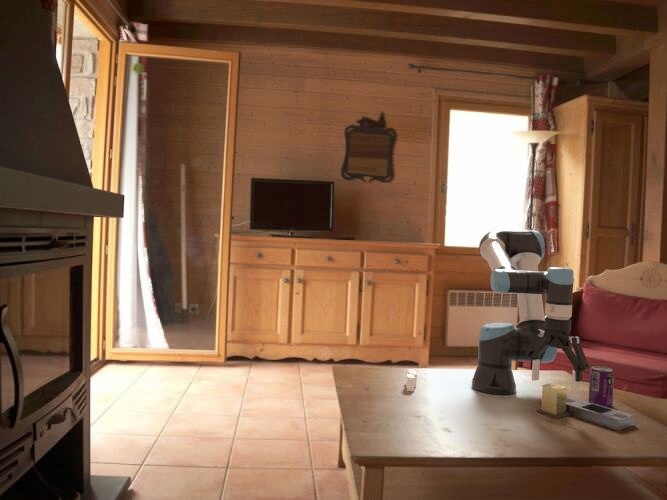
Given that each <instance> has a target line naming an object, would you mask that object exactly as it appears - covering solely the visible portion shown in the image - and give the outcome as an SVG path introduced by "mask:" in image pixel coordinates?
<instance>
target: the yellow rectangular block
mask: <svg viewBox="0 0 667 500" xmlns="http://www.w3.org/2000/svg"><path fill="white" fill-rule="evenodd" d="M567 391H568V387H567V386H564V385H560V384H557V383H553V382H551V383H546V384H542V391H541V408H540V409H541V411H544V412H547V413H550V414H553V415H560V414H563V413H566V396H568V395H567V394H568V393H567Z"/></svg>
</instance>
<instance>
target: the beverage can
mask: <svg viewBox="0 0 667 500" xmlns="http://www.w3.org/2000/svg"><path fill="white" fill-rule="evenodd" d="M613 371H614V370H613V369H612V368H609V367H605V366H591V370H590V372H589V381H588V382H589V385H588V402H591V403H594V404H598V405H601V406H605V407H608V408H609V407H611V406H613V403H614V402H613V401H614V399H613V398H614V381H615V375H614V373H613Z"/></svg>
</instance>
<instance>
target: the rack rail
mask: <svg viewBox="0 0 667 500" xmlns="http://www.w3.org/2000/svg"><path fill="white" fill-rule="evenodd" d="M566 412H568V413H571V415H570V416H571V417H574V416H575V418H577V417H578V418H577V419H581V420H584V421H587V422H590V423H593V424H596V425H598V426H599V425H600V426H603V427H606V428H609V429H612V430H615V431H622V430H624V429H627V428H631V427H634V426H635V414H631V413H628V412H625V411H622V410H618V409H614V408H611V407H609V406H608V407H605V406H601V405H598V404H594V403H591V402H589V400H588V401H587V400H583V399H580V398H578V397H573V396H570V395H567V396H566Z"/></svg>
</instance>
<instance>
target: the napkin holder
mask: <svg viewBox="0 0 667 500" xmlns="http://www.w3.org/2000/svg"><path fill="white" fill-rule="evenodd" d="M417 378H418V377H417V371H416V370H415V369H411V368H409V369H407V374H406V381H405V382H406V383H405V384H406V385H405V387H406V388H407V389H406V391H407V392H408V391H414V392H415V388H414V387H416V388H417Z"/></svg>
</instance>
